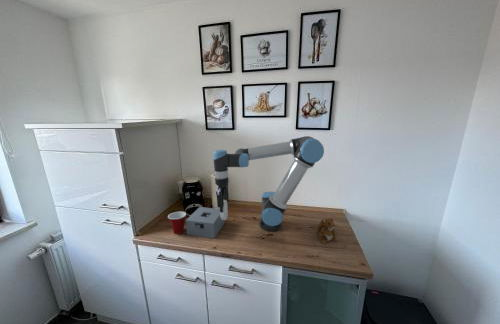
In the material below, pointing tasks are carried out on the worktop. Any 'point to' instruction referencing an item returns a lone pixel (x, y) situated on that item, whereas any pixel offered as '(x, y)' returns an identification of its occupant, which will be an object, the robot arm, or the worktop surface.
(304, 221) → the worktop surface
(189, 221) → the socket block
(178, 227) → the plastic cup
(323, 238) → the stuffed squirrel
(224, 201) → the peg
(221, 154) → the robot arm
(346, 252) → the worktop surface
